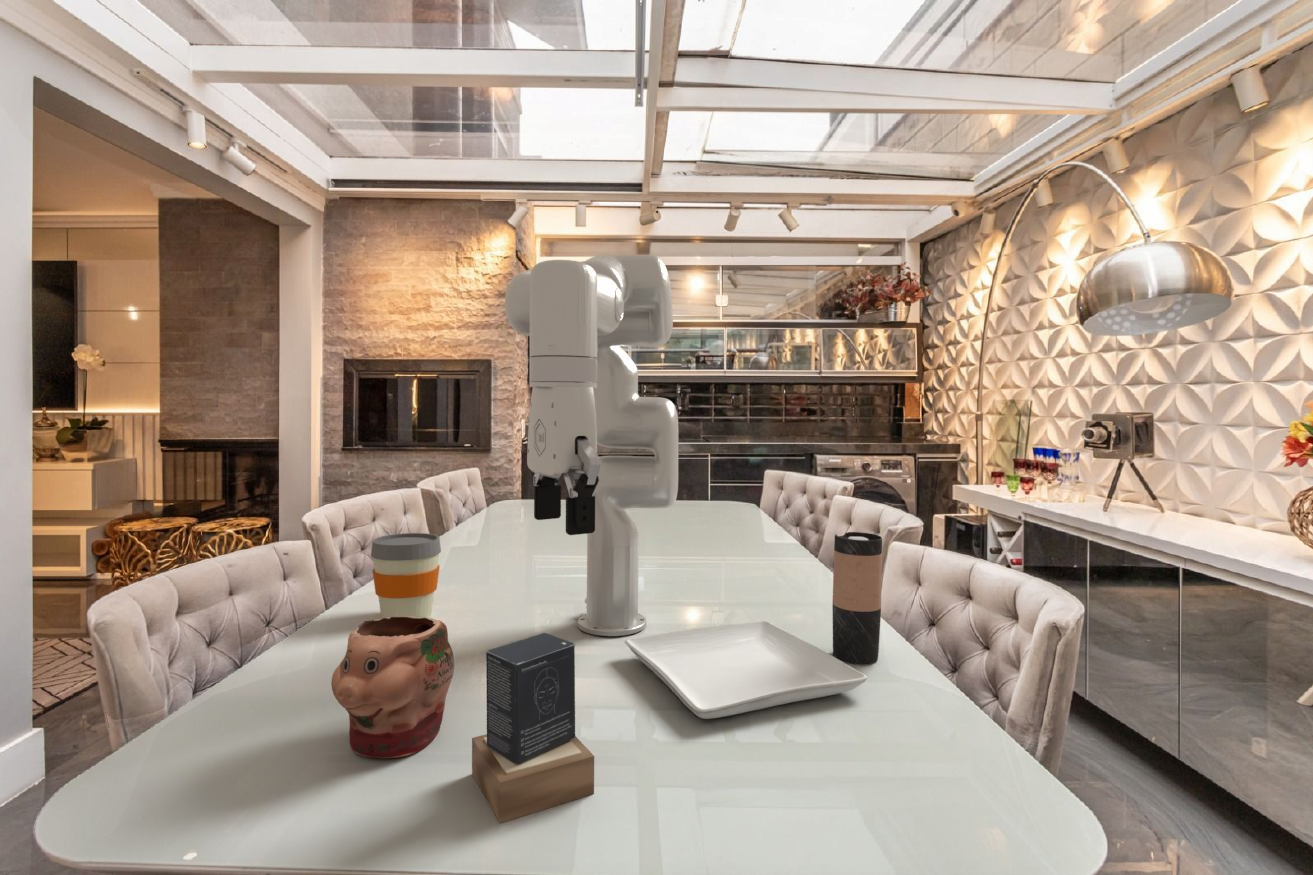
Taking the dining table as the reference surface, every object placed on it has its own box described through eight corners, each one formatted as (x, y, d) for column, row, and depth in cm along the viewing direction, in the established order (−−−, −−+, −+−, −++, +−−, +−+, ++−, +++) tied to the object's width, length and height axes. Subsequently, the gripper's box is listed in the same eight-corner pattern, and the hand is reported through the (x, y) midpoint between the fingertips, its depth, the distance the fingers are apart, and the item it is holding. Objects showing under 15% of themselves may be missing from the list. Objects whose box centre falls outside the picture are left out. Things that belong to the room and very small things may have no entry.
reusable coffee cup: (440, 604, 135) (440, 531, 134) (441, 623, 123) (441, 543, 122) (374, 609, 131) (373, 534, 130) (367, 629, 119) (367, 547, 118)
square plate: (621, 660, 107) (621, 636, 107) (765, 639, 118) (766, 617, 117) (697, 736, 82) (697, 706, 82) (871, 701, 93) (871, 673, 93)
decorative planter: (397, 696, 92) (396, 597, 91) (481, 702, 90) (481, 601, 89) (302, 774, 72) (301, 648, 71) (408, 784, 70) (408, 655, 70)
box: (544, 722, 75) (544, 631, 75) (576, 739, 72) (577, 643, 71) (484, 747, 70) (484, 648, 69) (516, 767, 66) (516, 663, 65)
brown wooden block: (471, 773, 72) (471, 736, 72) (557, 750, 77) (557, 715, 77) (500, 823, 64) (500, 780, 64) (594, 793, 69) (594, 754, 69)
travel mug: (882, 667, 104) (886, 541, 103) (832, 663, 105) (835, 539, 105) (876, 650, 111) (879, 533, 111) (829, 646, 113) (832, 530, 112)
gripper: (507, 375, 80) (507, 516, 81) (561, 371, 65) (560, 544, 66) (565, 377, 83) (564, 511, 84) (629, 373, 68) (627, 536, 69)
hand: (563, 525), depth 75 cm, fingers open, 9 cm apart
